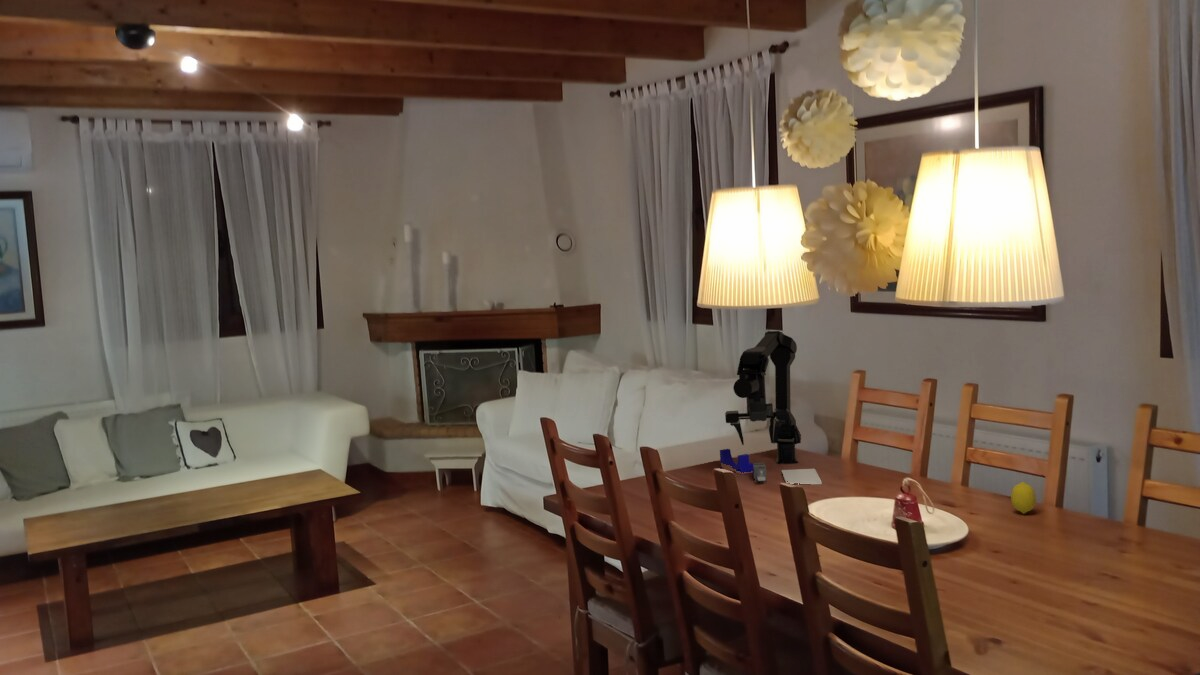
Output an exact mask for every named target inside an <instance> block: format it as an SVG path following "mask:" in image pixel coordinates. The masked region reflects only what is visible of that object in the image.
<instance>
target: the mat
mask: <svg viewBox="0 0 1200 675" xmlns="http://www.w3.org/2000/svg"><path fill="white" fill-rule="evenodd" d="M782 474H783V475H782ZM781 475H782V476H783V480H784V482H785V484H786V483H790V484H794V483H798V485H797V486H800V485H799V483H800V484H811V485H822V484H823V483H822V480H821V478H820V476H819V474H818V472H817V470H816V469H815V468H801V469H800V468H798V469H797V468H796V469H781ZM787 481H788V482H787Z"/></svg>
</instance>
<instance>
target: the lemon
mask: <svg viewBox="0 0 1200 675" xmlns="http://www.w3.org/2000/svg"><path fill="white" fill-rule="evenodd" d="M1036 500H1037V498H1036V493H1035V490H1034V488H1033V487H1032V486H1031V485H1030V484H1028V483H1025V481H1021V482H1020V483H1017V484H1016V485H1014V487H1013V488H1012V491H1011V494H1010V501H1011V504H1012V506H1013V508H1014V509H1016V510H1017V511H1019V512H1020V513H1021V514H1022V515H1025V514H1027V513H1028V512H1030V511H1032V510H1033V509H1034V507H1035V506H1036V504H1037V503H1036V502H1037V501H1036Z"/></svg>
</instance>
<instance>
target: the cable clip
mask: <svg viewBox="0 0 1200 675" xmlns="http://www.w3.org/2000/svg"><path fill="white" fill-rule="evenodd" d="M719 458H720V459H719V460H720V461H719V462H720V463H723V464H726V465H730V466H732V468H733V469H736V471H740V472H741V473H742V472H743V473H744V472H751V471H753V463H752V462H750V454H748V453H744V454H740V455H739V454H738V455H737V462H735V461H734V459H733V456H732V454H731V449H730V448H724V449H719Z"/></svg>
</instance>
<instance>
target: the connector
mask: <svg viewBox="0 0 1200 675" xmlns="http://www.w3.org/2000/svg"><path fill="white" fill-rule="evenodd" d="M752 474H753V480H754V479H755V480H754V482H755V481H756V482H765V483H767V482H768V479H767V478H768V477H767V466H766V464H765V462H754V463H753V473H752ZM766 481H767V482H766ZM756 482H755V483H756Z"/></svg>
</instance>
